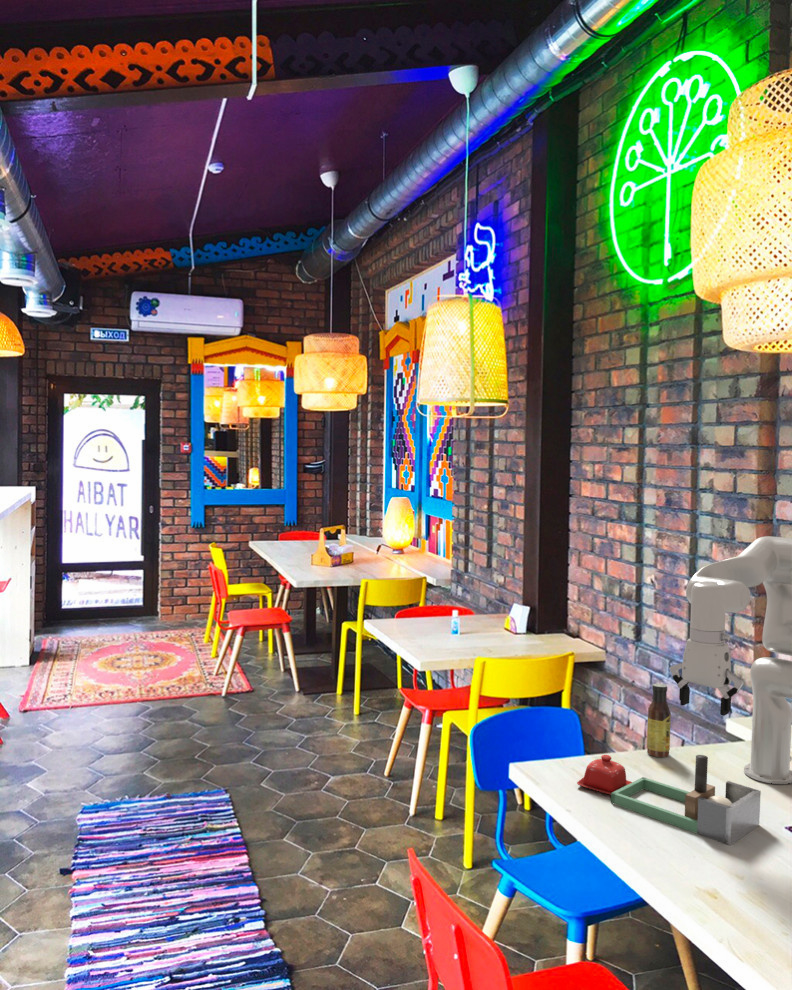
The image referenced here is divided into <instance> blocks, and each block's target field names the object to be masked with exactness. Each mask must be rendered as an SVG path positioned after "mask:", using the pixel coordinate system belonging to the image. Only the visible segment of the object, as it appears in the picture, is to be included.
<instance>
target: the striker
mask: <svg viewBox="0 0 792 990" xmlns="http://www.w3.org/2000/svg"><path fill="white" fill-rule="evenodd" d="M708 763H709V758H708V756H707V755H704V754H697V755H695V770H694V773H695V775H694V789H693V790H691V791H688V792H689V793H688V794H686V795H685V802H684V816H685V817H688V818H691V819H694V820H697V821H698V799H699V798H700V797H702V798H705V799H708V798H710V797H712V796H716V786H714V785H712V784H708V765H709V764H708Z"/></svg>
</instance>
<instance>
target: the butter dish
mask: <svg viewBox="0 0 792 990" xmlns="http://www.w3.org/2000/svg"><path fill="white" fill-rule="evenodd" d="M600 757H601V758H598V759H595V760H594V759H593V760H592V761H591V762H589V764H588V765H587V766H586V768H585V772H584V776H583V777H582V778H580V780H579V781H577V783H576V784H577V785H578V786H580V787H583V788H586V789H588V788H589V789H588V790H591V789H593V790H592V791H595V790H596V791H595V792H598V791H599V792H598V793H602V792H603V793H602V794H605V793H606V795H609V794H610V796H611V793H612V792H614V791H616V790H618V789H620V788H622V787H624V786H626V785H628V784H630V783H632V782H633V781H630V780H628V779H627V775H626V768H625V767H624V766H623V765H622V764H620V763H618V762H616V761H613V760H612V756H611V755H609V754H602V755H601V756H600Z"/></svg>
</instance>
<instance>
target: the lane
mask: <svg viewBox="0 0 792 990" xmlns="http://www.w3.org/2000/svg"><path fill="white" fill-rule="evenodd" d="M631 782H632V783H630V784H628V785H626V786H624V787H622V788H620V789H618V790H616V791H614V792H612V793H611V795H610V803H611V804H613V803H614V805H616V806H619V807H622V808H624V809H627V810H630V811H633V812H636V813H639V814H642V815H644V816H647V817H649V818H652V819H656V820H658V821H661V822H663V823H666V824H670V825H672V826H675V827H677V828H680V829H684V830H686V831H689V832H691V833H694V834H697V820H694V819H691V818H688V817H685V815H682V814H679V813H677V812H674V811H670V810H667V809H664V808H662V807H660V806H656V805H653V804H651V803H648V802H645V801H641V800H639V799H635V798H633V797H631V796H632V795H634V794H636V793H638V792H640V791H642V790H647V791H648V792H649V791H650V792H653V793H655V794H659V795H661V796H664V797H667V798H671V799H673V800H677V801H680V802H681V803H682V802H683V803H685V795H686V794H688V793H689V792H690V791H687V790H684V789H681V788H679V787H675V786H671V785H668V784H665V783H663V782H660V781H656V780H654V779H650V778H647V777H644V776H642V777H640V778H638V779H637V780H636V779H635V780H634V781H631Z"/></svg>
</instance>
